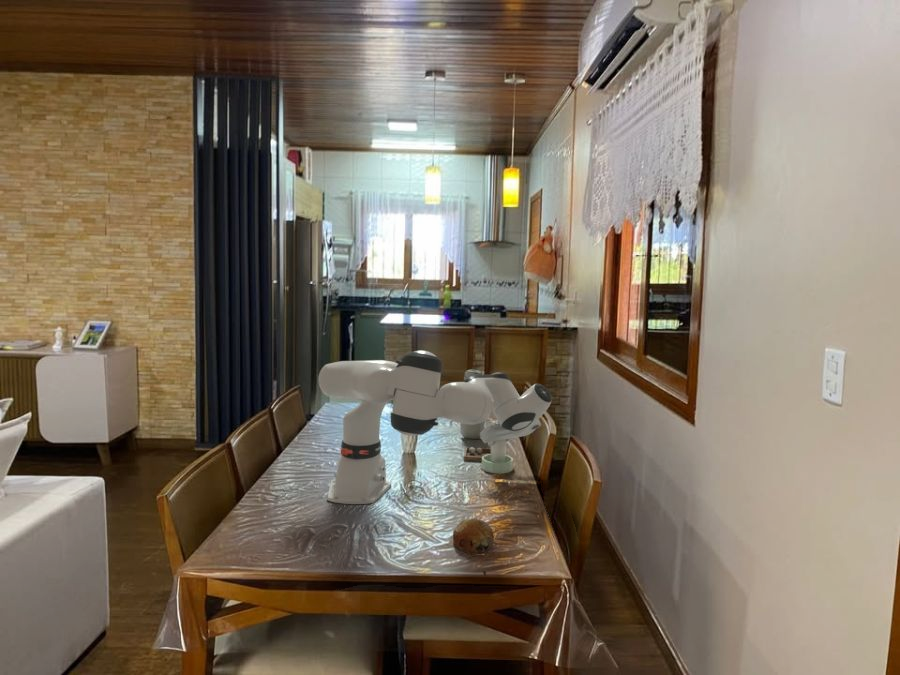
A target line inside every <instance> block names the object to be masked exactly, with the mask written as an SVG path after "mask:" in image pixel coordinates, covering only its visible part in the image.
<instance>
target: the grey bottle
mask: <svg viewBox="0 0 900 675" xmlns="http://www.w3.org/2000/svg"><path fill="white" fill-rule="evenodd" d="M474 375H483V372H482V371H480V370H477V369H468V370H466V371H465V372H464V376H463V381H464V380H465V379H467V378H468V377H471V376H474ZM485 423H486V420H485V421H484V422H482V423H479V424H474V425H469V424H462V423H459V424H460V426H459V427H460V428H459V429H460V433H461V436H462V437H463V438H464V439H469V440H479V439H481V437H480V432H481V431H482V430H483V429H484V428H485Z"/></svg>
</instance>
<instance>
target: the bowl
mask: <svg viewBox="0 0 900 675" xmlns="http://www.w3.org/2000/svg"><path fill="white" fill-rule="evenodd" d="M490 455H491V454H487V455H484V456H482V462H481V470H483V471H484V472H487V473H491V474H507V473H511V472H512V471H514V470H513V469H514V458H513V457H511V456H510V455H508V454H505V461H504V462H493V461H491V460H490Z"/></svg>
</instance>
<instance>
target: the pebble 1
mask: <svg viewBox="0 0 900 675" xmlns="http://www.w3.org/2000/svg"><path fill="white" fill-rule="evenodd" d="M469 448H470V449H469V453H470V454H474V453H475V451H476V450H475V448H476V447H472V446H471V447H469Z"/></svg>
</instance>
